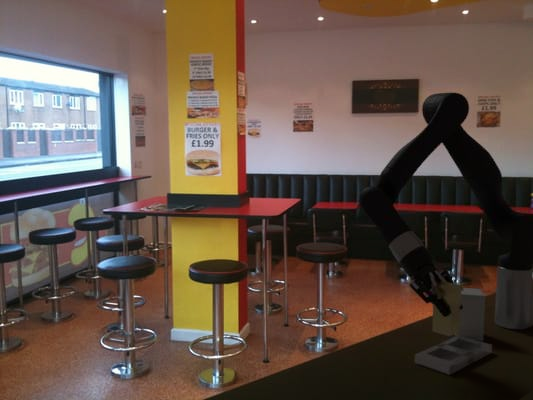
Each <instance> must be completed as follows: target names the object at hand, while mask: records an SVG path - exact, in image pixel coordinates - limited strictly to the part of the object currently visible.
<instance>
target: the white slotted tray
mask: <svg viewBox="0 0 533 400" xmlns="http://www.w3.org/2000/svg"><path fill="white" fill-rule="evenodd" d="M492 349H493V344H490V343H488V342H487V343H486V342H484V341H478V340H475V339H471V338H468V337H463V336H460V335H458V336H453V337H451V338H449V339H447V340H445V341H442V342H440V343H438V344H436V345H433V346H431V347H429V348H426V349H424V350H422V351H419V352H417V353H415V354H414V364H416V365H419V366H423V367H426V368H428V369H431V370H433V371H436V372H439V373H442V374H445V375H448V376H451V375H452V374H454V373H457V372H458V371H459V370H462V369H464V368H465V367H468V366H469V365H471V364H473V363H475V362H477V361H479V360H481V359H482V358H484V357H486V356H488V355H490V354H492V352H493V351H492Z"/></svg>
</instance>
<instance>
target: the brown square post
mask: <svg viewBox="0 0 533 400" xmlns="http://www.w3.org/2000/svg"><path fill="white" fill-rule="evenodd" d="M435 287H436V291H437V292H438V293H439V294H440V296H441V299H443V300H444V302H445V303H446V305H447V306H448V307H449V309H450V310H451V314H450V315H448V316H447V317H444V316H443V315H442V314H441V313H440V311H439V310H438V309H437V307H436V306H435V305H434V304H432V325H431V326H432V327H431V328H432V330H431V332H434V333H437V334H440V335H442V336H443V335H444V336H447V337H451V336H453V335H455V334H456V333H458V332H460V306H461V291H463V288H464V285H461V284H458V283H454V284H453V283H449V282H445V283H442V282H440V283H437V285H436V286H435ZM433 294H434V293H433ZM434 295H435V294H434Z"/></svg>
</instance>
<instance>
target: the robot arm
mask: <svg viewBox="0 0 533 400" xmlns="http://www.w3.org/2000/svg"><path fill="white" fill-rule="evenodd" d="M469 111H470V105H469V101H468V99H467V98H466V97H465V96H464V95H463V94H461V93H458V92H439V93H433V94H430V95H428V96H427V97H426V98H425V99H424V101H423V103H422V108H421V112H422V117H423V119H424V121H425V123H426V124H427V125H426V126H425V128H423V130H422V131H421V132H419V133H418V134H417V135H416V136H415V137H414V138H412V139H411V140H410V141H409V142H407V143H406V144H405V145H403V146H402V147H401V148H400V149H399V150H398V151H396V153H395V154H394V155H393V157H392V158H390V160H389V161H388V163H387V164H386V165H385V167H384V168H383V169H382V171H381V173H380V175H379V179H378V182H377V184H376V185H375V186H372V185H371V186H367V187H365V188H363V189H362V190H361V192H360V194H359V198H358V202H359V206H360V208H361V210H362V211H363V214H364V215H365V216H366V217H367V218H368V219H370V220H371V222H372V223H373V224H374V226H375V227H376V229H377V230H378V233H379V234H380V236H381V238H382V240H383V241H384V242H385V244H386V245H387V246H388V248H389V249H390V251H391V253H392V255H393V256H394V258H395V260H396V261H397V263H398V264H399V265H400V266H401V268H402V269H403V271H404V272H405V274H406V275H407V276H408V277H409V278H413V279H414V280H412V282H410V283H409V287H410V288H411V289H412V291H414V292H415V293H416V294H417V295H418V296H419V297H420V299H422V301H423V302H424V303H426V304H432V305H433V304H434V305H435V306H436V307H437V309H438V310H439V311H440V313H441V314H442V315H443V316H444V317H447V316H448V315H450V314H451V310H450V309H449V307H448V306H447V305H446V303H445V302H444V300H443V299H441V296H440V294H439V293H438V292H437V291H436V287H435V286H436V285H437V283H440V282H442V283H445V282H449V283H453V284H455V282H454V280H453V279H452V277H451V274H450V273H449V271H448V270H447V269H444V270H442V271H440V270H439V269H438V268H437V267H436V266H434V264H435V262H436V259H435V258H434V256H433V255H432V254H431V252H430V251H429V250H428V248H427V247H426V246H425V245H424V243H423V242H422V241H421V239H420V238H419V237H418V235H417V234H415V232H414V231H413V230H412V229H411V227H410V226H409V225H408V223H407V222H406V221H405V220H404V218H402V216H401V215H400V213H398V211H397V209H396V207H395V206H394V204H395V202H396V200H397V199H398V197H399V195H400V193H401V191H402V190H403V188H405V186H406V185H407V184H408V182H409V181H410V180H411V178H412V177H413V176H414V175H415V173H416V172H417V171H418V170H419V168H420V167H421V166H422V164H424V162H425V161H426V160H427V159H428V157H430V156H431V155H432V154H433V152H434V151H436V149H437V148H438V147H439V146H440V145H441V144H442V145H443V147H445V149H446V151H447V152H448V154H449V156H450V158H451V159H452V161H453V162H454V164H455V165H456V167H457V169H458V170H459V172H460V174H461V177H462V178H463V179H464V181H465V182H466V184H467V186H468V187H469V188H470V190H471V192H472V193H473V194H474V197H475V198H476V199H477V201H478V203H479V205H480V206H481V208H482V210H483V211H484V214H485V215H486V217H487V220H488V222H489V225H490V227H491V229H492V231H493V233H494V234H495V236H496V237H497V238H498V239H499V240H501V241H503V242H505V243H509V244H510V249H509V251H508V252H507V253H505V254H504V253H503V254H501V255H499V256H498V258H497V268H496V270H497V274H496V288H495V289H496V292H495V307H494V323H495V325H496V326H499V327H501V328H505V329H512V330H526V329H528V328H531V327H533V293H532V283H533V282H532V281H533V279H532V278H533V214H529V213H527V212H526V213H525V212H520V211H514V210H513V209H512V208H511V207H510V206H509V205H508V203H507V201H506V200H505V198H504V196H503V191H502V190H503V176H502V175H503V174H502V172H501V169H500V168H499V166H498V164H497V163H496V161H495V159H494V158H493V156H492V155H491V153H490V152H489V151H488V150H487V149H486V148H485V147H484V146H483V145H482V144H480V143H479V142H478V141H477V140H475V138H474V137H472V136H471V135H470V134H469V133H468V132H467V131H466V130H465V128H464V127H463V126H462V124H463V123H464V122H465V120H466V119H467V117H468V115H469ZM433 293H434V294H435V295H434V294H433ZM462 309H463V306H462V305H461V306H460V310H462Z"/></svg>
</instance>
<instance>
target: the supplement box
mask: <svg viewBox="0 0 533 400" xmlns="http://www.w3.org/2000/svg"><path fill="white" fill-rule="evenodd" d="M461 305H462V306H463V309H462V310H460V332H458V333H456V334H454V335H455V336H454V337H456V336H458V335H460V336H463V337H467V338H470V339H474V340H477V341H480V342H484V331H485V329H484V328H485V310H486V295H485V294H484V292H483V290H482V289H480V288H470V287H469V288H467V287H466V288H465V287H463V291H461Z"/></svg>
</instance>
